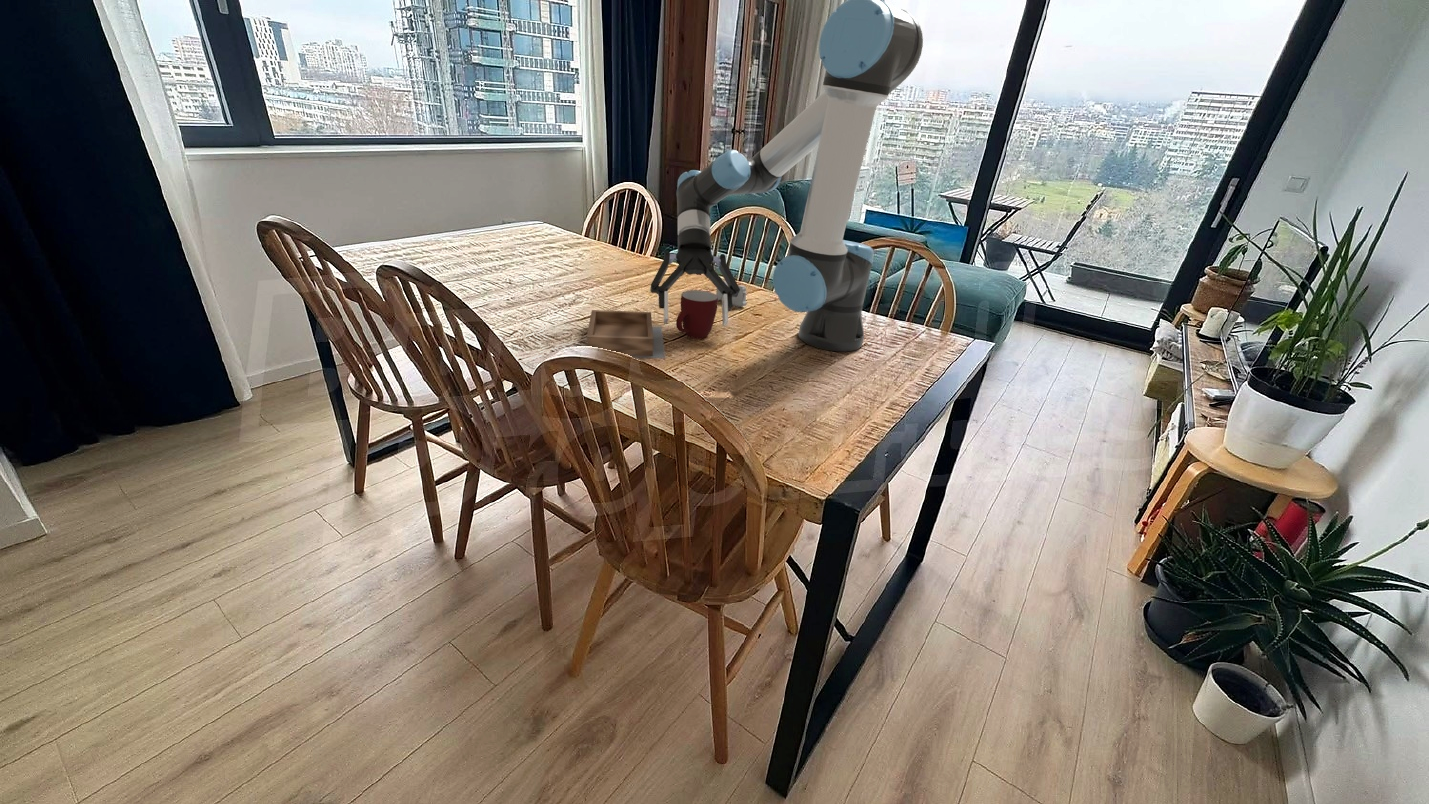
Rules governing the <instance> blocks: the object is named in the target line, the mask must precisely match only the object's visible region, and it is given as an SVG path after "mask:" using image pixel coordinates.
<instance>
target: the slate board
mask: <svg viewBox="0 0 1429 804" xmlns="http://www.w3.org/2000/svg"><path fill="white" fill-rule="evenodd" d="M652 329H653V356H635V355H630V356H632V357H634V358H633V359H635V358H636V359H663V360H664V359H666V353H665V345H664V338H663V330H662V326H654V325H652ZM586 346H587V343H586V345H585V347H586Z"/></svg>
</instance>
